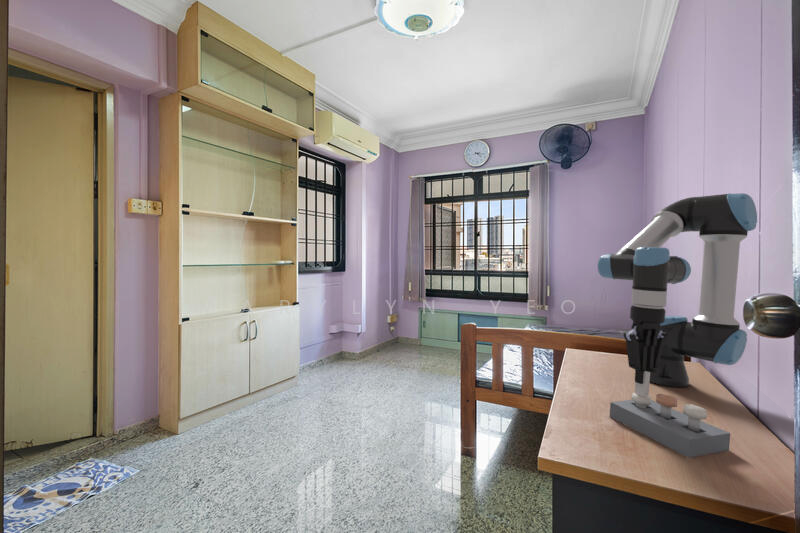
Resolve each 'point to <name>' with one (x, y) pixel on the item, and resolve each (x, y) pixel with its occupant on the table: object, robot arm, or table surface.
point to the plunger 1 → (641, 400)
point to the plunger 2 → (694, 416)
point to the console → (671, 429)
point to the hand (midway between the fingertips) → (641, 394)
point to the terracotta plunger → (666, 405)
